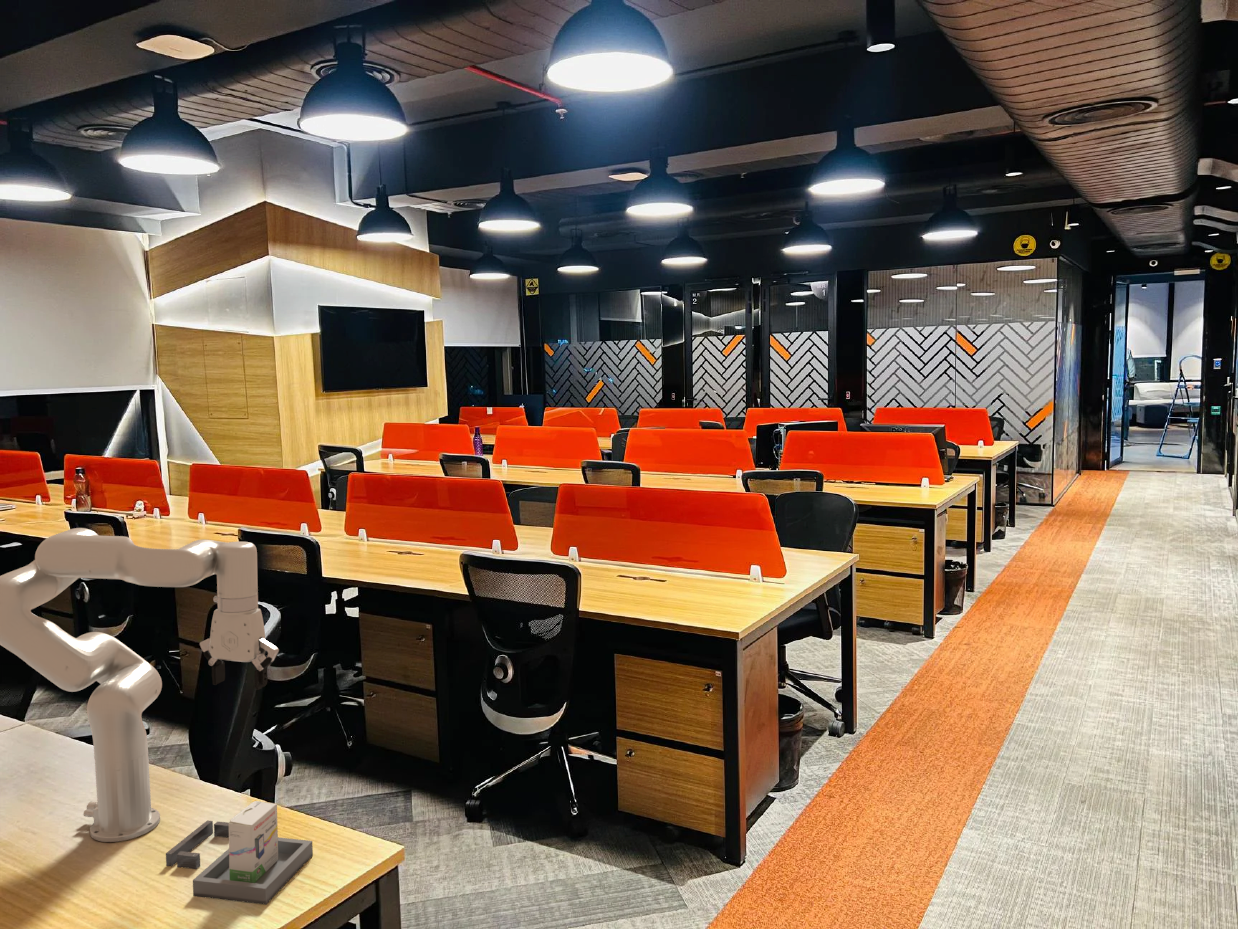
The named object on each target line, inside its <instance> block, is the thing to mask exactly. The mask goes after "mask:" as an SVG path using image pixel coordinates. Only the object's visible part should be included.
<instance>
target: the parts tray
mask: <svg viewBox="0 0 1238 929" xmlns="http://www.w3.org/2000/svg"><path fill="white" fill-rule="evenodd" d="M313 849H314V848H313V840H307V839H306V840H305V839H299V838H298V839H296V838H287V837H280V836H278V861H276V862H275V863H274V864H273V865H272V866H271V867H270V868H269V869H268V870H267V871H266V872H265V873H264V874H263V875H262V876H261V877H260V878H259V879H258V880H257V881H256V882H255V883H249V882H240V881H231V880H230V873H229V872H230V870H229V848H228V849H226V850H225V851H224V852H223V853H222V854H221V855H220V856H218V858H216V859H215V860H214V861H213V862H211V864H210V865H208V866H206V868H205V869H204V870H202V871H201V872H200V873H199V874H197V875H196V877H194V879H192V894H193V897H199V898H205V897H206V898H205V899H215V900H222V901H230V902H231V901H232V902H241V903H249V904H255V905H256V904H257V905H264V906H266V905H267V904H268V903H269V902H271V901H272V899H273V898H274V897H275V896H276V895H277V894H278V893H279V892H280V891H281V890H282V889H283V888H284V886H285V885H286V884H287V883H289V881H290V880H291V879H292V878H293V877H294V876H295V875H296V874H297V873H298V872H299V871H300V870H301V869H302V868H303V867H304V866H305V864H307V862H308V861H309V860H310V859H311V858H312V857H313V856H314V853H313V852H314V850H313Z"/></svg>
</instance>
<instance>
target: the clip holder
mask: <svg viewBox="0 0 1238 929" xmlns="http://www.w3.org/2000/svg"><path fill="white" fill-rule="evenodd" d="M213 823H214V822H213V820H206V821H204V822H203V823H202V824H201V825H200V826H198V827H197V828H196V829H195V830H193V831H191V833H190V834H188V835H187V836H186V837H184V838H183V839H182V840H181V841H179V842H178V843H176V845H174V846H173V847H172V848H171V849H169V850H168V851H167V852H166V853H165V866H166V867H174V866H175V865H176V866H177V868H181V867H183V868H182V869H188V870H189V869H192V870H197V869H198V868H200V867H201V853H199V852H191V851H193V850H195V848H197V845H198V844H199V845H200V844H201V843H202V842H204V841H205V840H206V839H207V838H209V836H211V835H212V834H213V833H214V834H213V835H214V837H219V838H227V839H229V821H228V822H226V821H216V822H215V823H214V824H213ZM203 840H204V841H203ZM199 845H198V846H199ZM192 849H193V850H192Z"/></svg>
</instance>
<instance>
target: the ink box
mask: <svg viewBox="0 0 1238 929" xmlns="http://www.w3.org/2000/svg"><path fill="white" fill-rule="evenodd" d="M228 823H229V838H228V849H229V870H230V872H229V873H230V880H231V881H240V882H249V883H255V882H256V881H257V880H258V879H259V878H260V877H261V876H262V875H263V874H264V873H265V872H266V871H267V870H268V869H269V868H270V867H271V866H272V865H273V864H274V863H275V862H276V861H278V837H279V835H278V834H279V830H278V804H277V803H274V802H266V801H260V800H255V801H252V802H250V804H248V805H247V806H246V807H244V808H243V809H242V810H240V812H238V813H237V814H236V815H234V816H233V817H232V818H230V819H229V821H228Z"/></svg>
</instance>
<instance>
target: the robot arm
mask: <svg viewBox="0 0 1238 929" xmlns="http://www.w3.org/2000/svg"><path fill="white" fill-rule="evenodd" d="M257 551H258V550H257V547H256V545H255V544H254V543H253V542H248V541H229V542H228V541H227V542H225V541H219V540H212V539H197V540H194V541H192V542H190V543H187V544H185V545H183V546H182V547H179V548H174V549H173V548H169V549H168V548H149V547H144V546H138V545H136V544H135V543H134V541H133V540H132V539H131V538H130V537H129V536H125V535H124V536H123V535H120V536H119V535H99V534H98V533H96V531H94V530H92V529H88V528H86V527H76V528H75V527H74V528H71V529H67V530H64V531H62V532H58V533H55V534H53V535H51V536H49V537H47V538H45V539H43V541H42V542H40V544H39V545H38V546H37V549H36V551H35V554H34V559H33V561H31V562H30V563H29V564H26V565H25V566H23V567H19V568H17V569H14V570H12V571H9V572H6V573H4V574H2V575H0V646H1V647H3V648H5V649H6V650H7V651H9V652H10V653H12V654H14V655H15V656H17V657H18V658H19V659H21V660H22V661H23V662H25V663H26V665H28V666H29V667H31V668H32V669H34V670H35V671H36V672H38V673H39V674H40V675H42V676H43V677H44V678H45V679H47V680H48V681H50V682H51V683H53V684H54V685H55V686H57V687H58V688H59V689H61V690H63V691H66V692H71V693H73V692H79V691H81V690H84V689H86V688H87V687H89V686H91V685H92V684H94V683H95V682H97V683H99V685H98V686H97V687H96V688H95V689H94V690H93V691H92V693H91V695H90V697H89V699H88V701H87V706H86V714H87V715H86V716H87V720H88V723H89V728H90V731H91V736H92V744H93V756H94V767H95V784H96V785H95V786H96V799H97V800H96V801H90V802H88V803H87V805H86V809H85V810H84V811H83V814H82V815H83V817H85V818H86V817H87V818H93V823H92V824H91V825H90V828H89V832H90V833H89V835H90V837H91V838H92V839H94V840H96V841H98V842H101V843H103V842H104V843H118V842H124V841H127V840H131V839H135V838H137V837H138V838H139V837H140V836H142V835H146V834H147V833H149V832H150V831H152V830H153V829H155V828H156V827H157V826H158V824H159V823H160V821H161V813H160V812H159V810H158V809H155V808H153V807H152V798H151V797H152V796H151V781H150V761H149V747H148V746H149V745H148V736H147V731H146V728H145V725H144V722H143V718H142V717H143V716H142V715H143V712H144V711H145V710H146V709H147V708H148V707H149V706H150V705H151V704H153V702H155V700H156V699H158V697H159V695H160V694H161V691H162V688H163V681H162V677H161V676H160V674H159V672H158V670H157V669H156V668H155V667H154V666H153V665H152V664H150V663H149V662H148V661H147V660H145V658H143V657H142V656H140V655H139V654H137V653H136V652H135V651H133V649H132V648H130V647H128V646H127V645H126V644H125V643H123V642H121V641H120V640H119V639H118V638H116V637H114V636H113V635H110V634H108V633H104V632H101V631H91V632H86V633H84V634H81V635H79V636H77V637H74V636H72V635H71V634H70V633H68V632H66V631H65V630H63V629H62V628H61V627H60V626H59V625H57V624H56V623H54V622H53V621H51V620H48V619H46V618H43V617H41V616H38V615H36V614H34V613H33V612H32V610H34V609H36V608H37V607H39V606H42V605H43V604H46V603H48V602H49V601H52V600H53V599H54V598H56V597H57V596H58V595H60V594H61V593H62V592H63V591H65V590H66V589H67V588H68V587H69V586H71V585H72V584H73V583H74V582H76V581H77V580H79V579H100V580H101V579H103V580H106V579H107V580H122V581H124V582H126V583H131V584H135V585H138V586H144V587H157V588H159V587H160V588H161V587H162V588H186V587H190V586H194V585H196V584H198V583H200V582H201V581H202V580H204V579H206V578H209V577H211V576H213V575H216V584H217V586H216V590H217V591H216V593H217V594H216V595H214V597H213V598H212V599H213V602H214V603H216V604H217V608H216V609H215V610H214V611H213V615H212V619H211V627H210V633H209V634H210V636H209V638H207V639H205V640H202V641H200V642H199V646H200V648H201V651H202V652H203V656H204V658H206V660H207V661H208V665H209V666H210V667H211V678H212V685H214V686H217V685H218V684H220V683H222V682H224V681H225V680H226V665H225V664H226V663H225V661H228V662H229V661H231V662H239V663H240V662H241V663H250V662H251V663H252V664H253V665H254V668H256V669H255V671H254V689H255V690H256V691H257V690H258V691H259V690H261V689H262V688H264V687H266V686H267V685H268V679H269V678H268V677H269V676H268V675H269V674H268V668H269V667H270V666H271V665H272V663H273V662H274V661H275V660H276V658H277V655H278V654H279V652H280V649H279V648H278V647H277V646H276V645H274V644H273V643H272V642H269V641H268V640H266V633H265V632H266V630H265V623H264V618H263V614H262V613H263V612H262V610H261V608H259V592H258V591H259V589H258V588H259V586H258V552H257ZM266 652H267V656H266V655H265V654H266Z"/></svg>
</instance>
